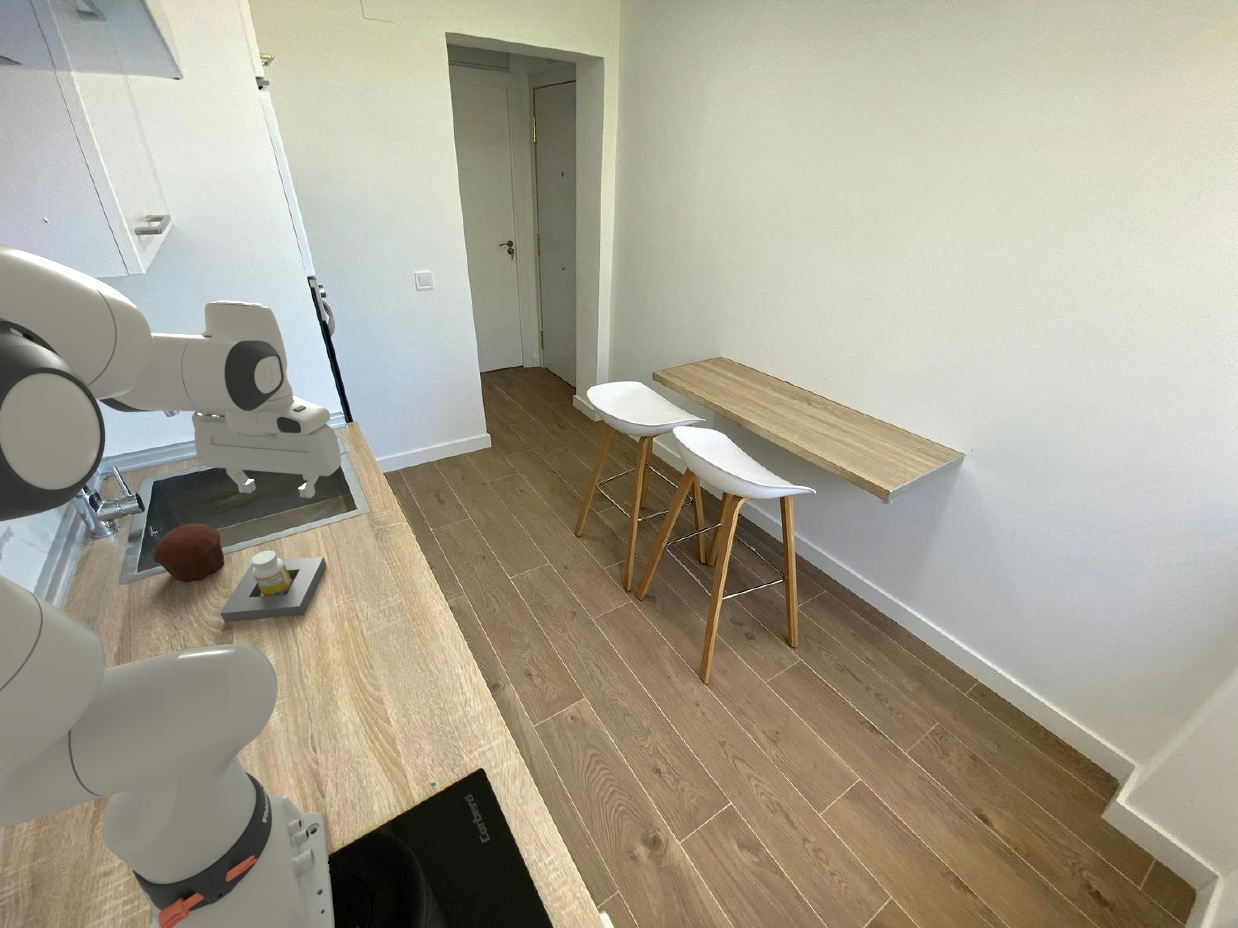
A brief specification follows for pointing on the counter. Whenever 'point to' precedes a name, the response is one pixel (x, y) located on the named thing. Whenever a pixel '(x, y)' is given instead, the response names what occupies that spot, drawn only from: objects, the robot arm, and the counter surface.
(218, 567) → the muffin
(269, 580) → the supplement bottle
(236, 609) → the frame
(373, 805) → the counter surface
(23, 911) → the counter surface
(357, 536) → the counter surface
